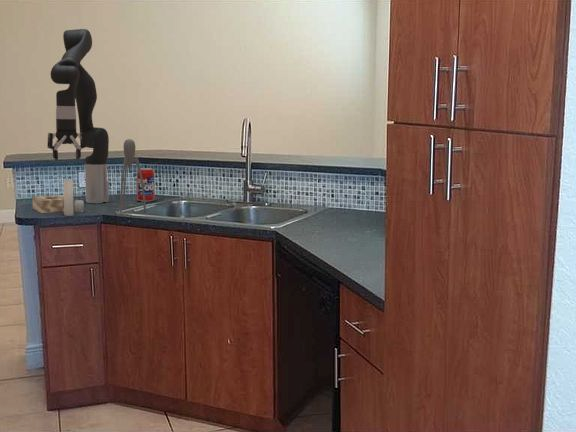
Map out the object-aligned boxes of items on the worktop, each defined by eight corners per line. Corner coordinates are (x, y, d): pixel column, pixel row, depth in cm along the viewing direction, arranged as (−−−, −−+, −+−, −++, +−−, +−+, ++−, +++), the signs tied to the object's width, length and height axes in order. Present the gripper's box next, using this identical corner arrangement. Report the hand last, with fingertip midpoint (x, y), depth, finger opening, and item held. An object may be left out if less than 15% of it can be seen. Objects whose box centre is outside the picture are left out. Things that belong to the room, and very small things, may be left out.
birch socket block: (61, 207, 304) (61, 195, 304) (71, 211, 295) (70, 199, 294) (32, 208, 297) (32, 197, 297) (41, 213, 288) (41, 200, 287)
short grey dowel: (81, 210, 297) (81, 200, 296) (85, 212, 294) (84, 201, 293) (73, 211, 295) (73, 200, 294) (76, 212, 292) (76, 201, 291)
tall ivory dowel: (71, 214, 288) (71, 179, 285) (74, 215, 285) (74, 180, 283) (62, 214, 286) (62, 179, 283) (65, 216, 283) (65, 180, 280)
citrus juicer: (146, 211, 300) (145, 139, 295) (131, 214, 291) (130, 140, 286) (124, 208, 304) (123, 138, 299) (108, 212, 295) (108, 139, 290)
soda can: (147, 199, 333) (147, 167, 331) (157, 201, 328) (157, 168, 325) (133, 200, 328) (133, 168, 325) (143, 203, 322) (143, 169, 320)
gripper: (80, 117, 286) (81, 158, 289) (44, 117, 278) (45, 159, 281) (87, 118, 280) (88, 159, 283) (50, 118, 272) (51, 160, 275)
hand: (66, 159), depth 282 cm, fingers open, 8 cm apart
